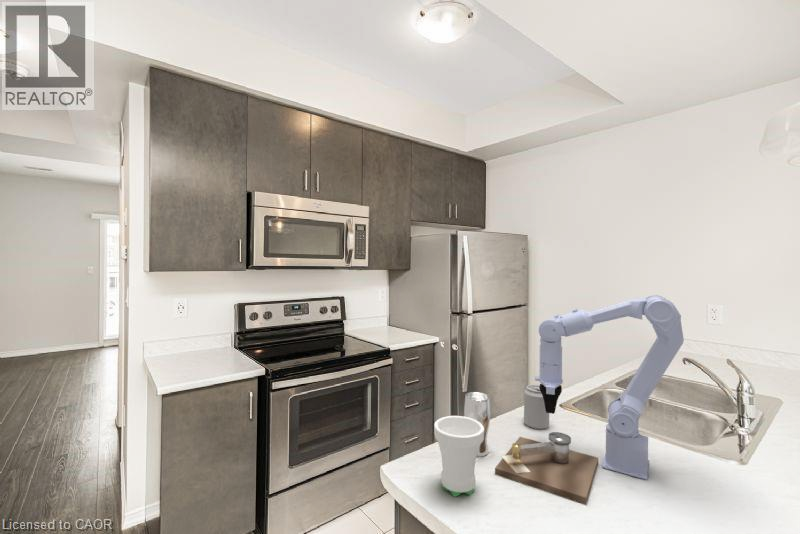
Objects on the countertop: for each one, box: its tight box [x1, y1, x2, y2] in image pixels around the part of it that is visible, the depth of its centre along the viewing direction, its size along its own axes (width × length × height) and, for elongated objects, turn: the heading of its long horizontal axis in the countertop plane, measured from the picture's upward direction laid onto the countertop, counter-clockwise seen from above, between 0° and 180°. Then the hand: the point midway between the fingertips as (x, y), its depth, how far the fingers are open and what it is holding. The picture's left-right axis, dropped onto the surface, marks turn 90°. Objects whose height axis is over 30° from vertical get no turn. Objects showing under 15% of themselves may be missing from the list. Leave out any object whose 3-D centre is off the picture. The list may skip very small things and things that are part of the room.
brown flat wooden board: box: [494, 436, 599, 506], centre depth 95 cm, size 21×20×2 cm
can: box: [523, 384, 550, 430], centre depth 119 cm, size 8×8×12 cm
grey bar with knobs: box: [511, 431, 572, 463], centre depth 95 cm, size 16×5×6 cm, turn 103°
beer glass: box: [463, 391, 492, 458], centre depth 103 cm, size 7×7×15 cm
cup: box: [433, 415, 484, 497], centre depth 86 cm, size 11×11×14 cm
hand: (550, 412), depth 104 cm, fingers closed
